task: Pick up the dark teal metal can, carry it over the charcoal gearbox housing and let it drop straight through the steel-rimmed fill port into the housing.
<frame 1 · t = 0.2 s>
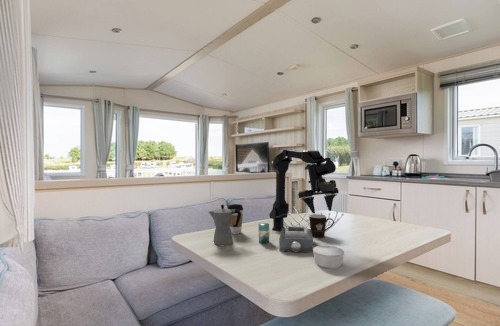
hand: (322, 212, 120), 15 cm above the table, tool pointing down, fingers open, 9 cm apart
gearbox: (296, 245, 122), on the table
ramekin: (328, 264, 101), on the table
coffee mug: (320, 236, 135), on the table
metal can: (264, 242, 127), on the table
coffeepot: (225, 243, 128), on the table
coffee cup: (235, 232, 144), on the table
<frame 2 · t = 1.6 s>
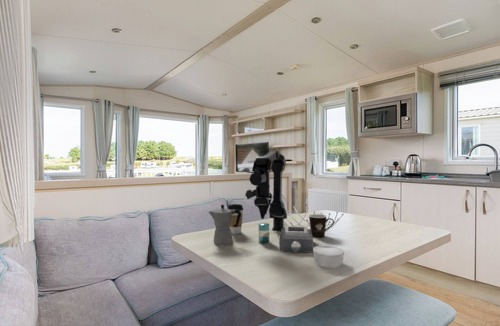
hand: (263, 216, 127), 12 cm above the table, tool pointing down, fingers open, 9 cm apart
nothing on the table moved.
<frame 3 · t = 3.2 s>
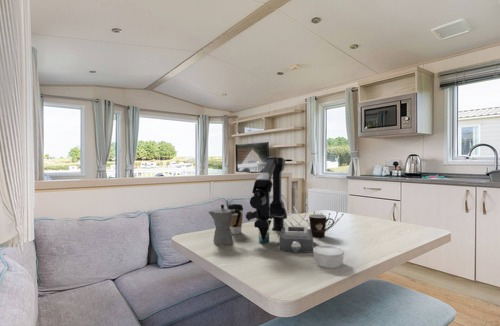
hand: (264, 237, 127), 2 cm above the table, tool pointing down, fingers closed on metal can, 5 cm apart
metal can: (264, 242, 127), on the table, touching gripper
everything else where it was.
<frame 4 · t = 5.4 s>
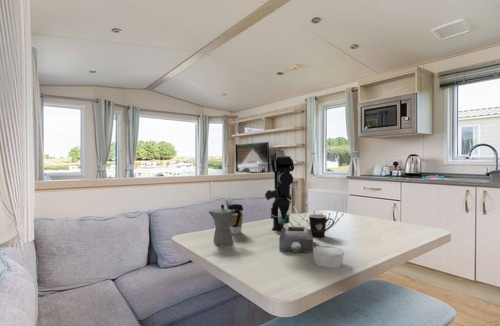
hand: (284, 217, 123), 12 cm above the table, tool pointing down, fingers closed on metal can, 5 cm apart
metal can: (283, 222, 123), point 10 cm above the table, touching gripper
everything else where it was.
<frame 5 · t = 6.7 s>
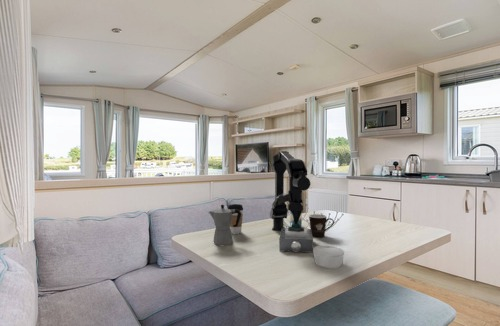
hand: (295, 222, 122), 10 cm above the table, tool pointing down, fingers closed on metal can, 5 cm apart
metal can: (295, 226, 122), point 8 cm above the table, touching gripper
everything else where it was.
when the fingers open (10 cm above the table, at t = 7.6 s): metal can drops 8 cm, resting on gearbox.
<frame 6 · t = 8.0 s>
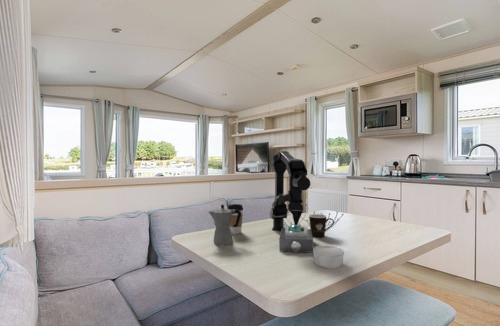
hand: (296, 222, 122), 10 cm above the table, tool pointing down, fingers open, 9 cm apart
metal can: (295, 244, 121), point 1 cm above the table, touching gearbox
everything else where it was.
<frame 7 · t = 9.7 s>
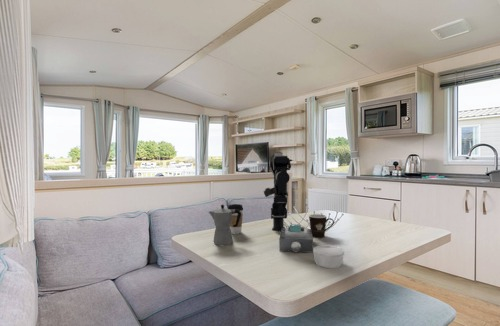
hand: (281, 213, 132), 13 cm above the table, tool pointing down, fingers open, 9 cm apart
nothing on the table moved.
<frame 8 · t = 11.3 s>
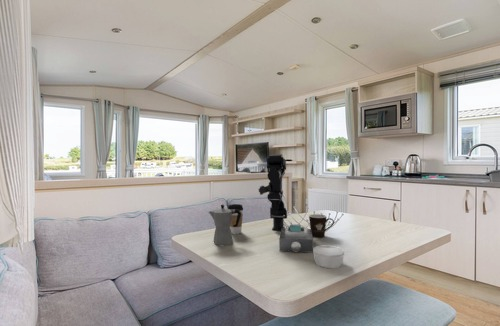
hand: (275, 211, 135), 13 cm above the table, tool pointing down, fingers open, 9 cm apart
nothing on the table moved.
at the end: metal can 1.0 cm off-centre on the gearbox, point 0.7 cm above the gearbox's base; metal can tilted 2°; the gripper is holding nothing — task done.
